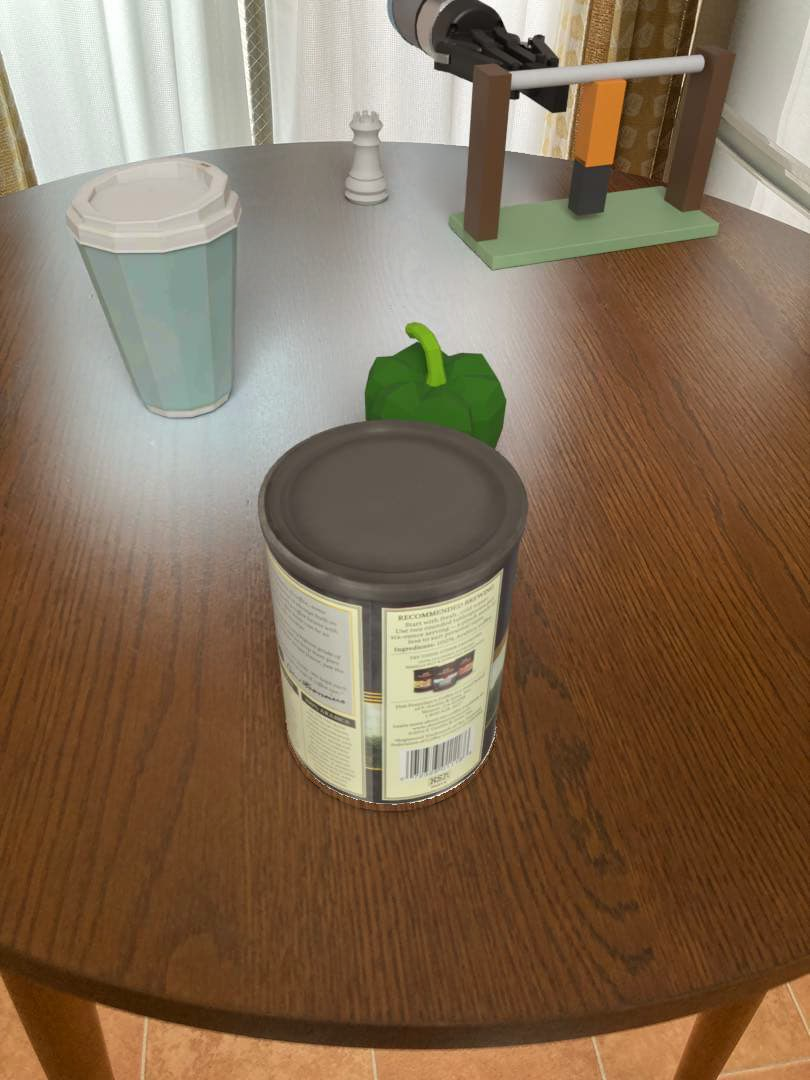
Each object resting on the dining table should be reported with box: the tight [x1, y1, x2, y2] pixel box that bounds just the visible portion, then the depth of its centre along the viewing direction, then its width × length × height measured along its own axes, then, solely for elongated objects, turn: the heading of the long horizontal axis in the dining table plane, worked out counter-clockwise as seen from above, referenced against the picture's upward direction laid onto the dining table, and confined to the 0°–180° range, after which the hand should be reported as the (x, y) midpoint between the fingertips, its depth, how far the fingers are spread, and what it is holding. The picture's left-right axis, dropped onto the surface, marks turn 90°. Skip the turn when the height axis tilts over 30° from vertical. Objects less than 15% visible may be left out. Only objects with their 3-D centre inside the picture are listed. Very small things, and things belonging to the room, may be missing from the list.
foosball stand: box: [448, 44, 737, 271], centre depth 83 cm, size 24×10×15 cm, turn 111°
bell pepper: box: [364, 321, 507, 450], centre depth 55 cm, size 8×8×10 cm
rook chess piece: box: [344, 109, 390, 206], centre depth 90 cm, size 4×4×8 cm
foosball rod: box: [510, 54, 705, 216], centre depth 82 cm, size 19×2×13 cm, turn 111°
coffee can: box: [257, 419, 529, 805], centre depth 40 cm, size 10×10×14 cm
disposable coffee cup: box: [64, 156, 243, 419], centre depth 61 cm, size 11×11×15 cm
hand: (561, 97), depth 86 cm, fingers closed
